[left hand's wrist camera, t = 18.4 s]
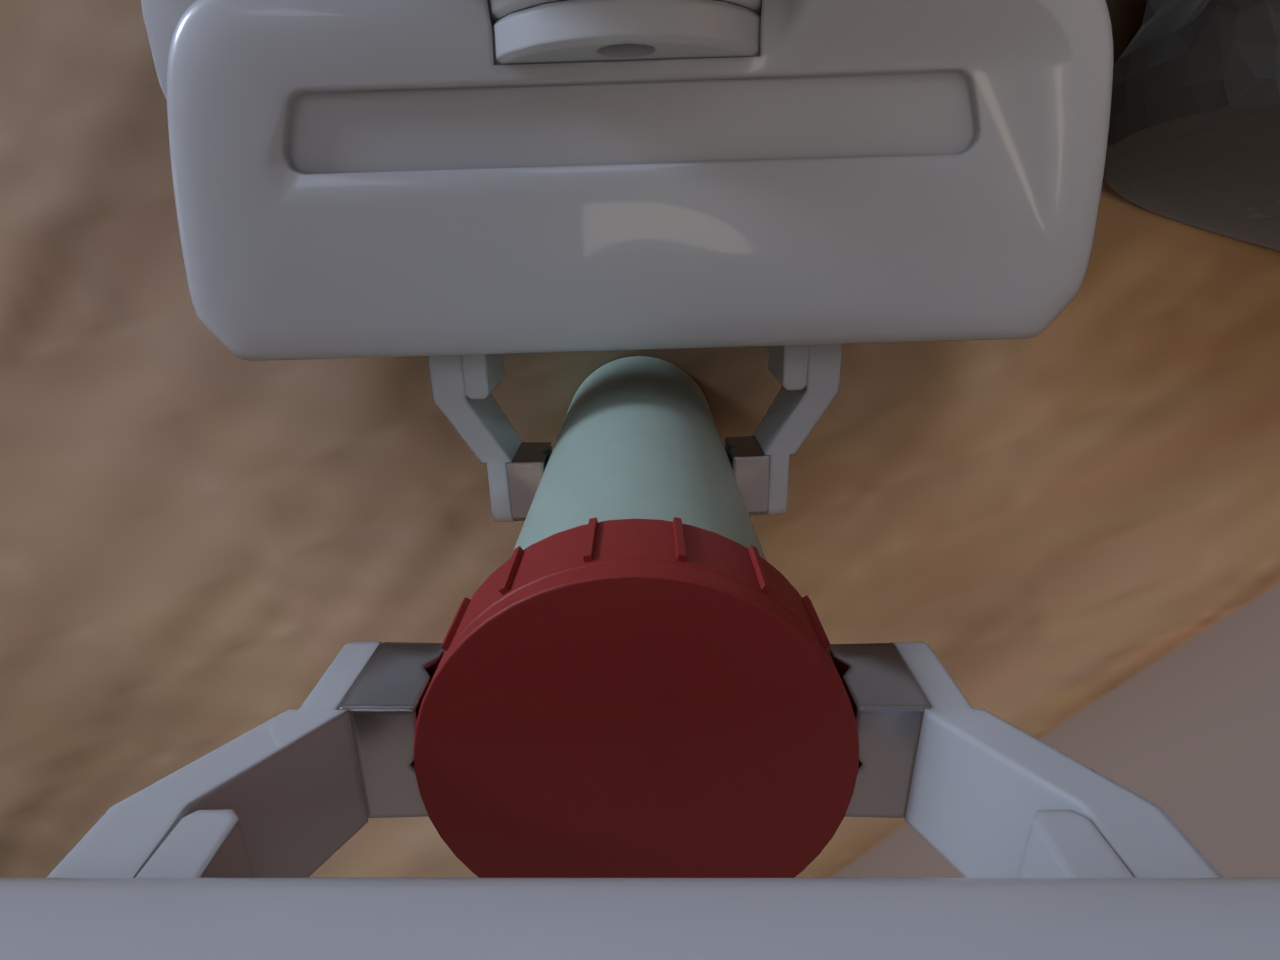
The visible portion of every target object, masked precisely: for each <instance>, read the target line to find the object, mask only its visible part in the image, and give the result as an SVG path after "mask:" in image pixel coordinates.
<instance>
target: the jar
mask: <svg viewBox="0 0 1280 960" xmlns="http://www.w3.org/2000/svg"><path fill="white" fill-rule="evenodd" d="M674 517H677V518H681V519H682V524H688V525H692V526H695V527H698V528H702V529H705V530H708V531H711V532H715V533H717V534H719V535H722V536H724V537H726V538H728V539H731V540H733V541H735V542H737V543H739V544H741V545H743V546H744V547H746V548H749V547H750V546H751V545H753V546H754V547H756V548H757V549H758V552H759V554H760V556H761V557H762V558H763V559H764V560H766V559H765V556H764V554H763V551H762V548H761V545H760V543H759V540H758V537H757V535H756V532H755V529H754V527H753V524H752V521H751V518H750V516H749V513H748V510H747V508H746V505H745V502H744V500H743V497H742V494H741V491H740V489H739V486H738V483H737V481H736V478H735V475H734V472H733V470H732V467H731V464H730V462H729V459H728V456H727V454H726V451H725V448H724V445H723V443H722V440H721V437H720V435H719V432H718V429H717V427H716V424H715V421H714V418H713V416H712V413H711V410H710V408H709V405H708V402H707V400H706V398H705V396H704V394H703V392H702V390H701V389H700V387H699V386H698V384H697V383H696V382H695V381H694V380H693V379H692V377H691V376H689V375H688V374H687V373H686V372H685V371H684V370H682V369H680V368H679V367H677V366H676V365H674V364H672V363H670V362H667V361H665V360H662V359H658V358H654V357H648V356H632V357H625V358H620V359H617V360H614V361H611V362H609V363H607V364H605V365H603V366H601V367H600V368H598V369H597V370H595V371H594V372H593V373H592V374H590V375H589V376H588V377H587V378H586V379H585V380H584V382H583V383H582V384H581V385H580V387H579V388H578V390H577V391H576V393H575V395H574V397H573V399H572V402H571V404H570V407H569V409H568V412H567V414H566V417H565V419H564V422H563V425H562V427H561V430H560V432H559V435H558V437H557V440H556V442H555V445H554V448H553V450H552V453H551V455H550V458H549V460H548V463H547V466H546V468H545V471H544V473H543V476H542V478H541V481H540V483H539V486H538V489H537V491H536V494H535V496H534V499H533V501H532V504H531V506H530V509H529V512H528V514H527V517H526V519H525V522H524V524H523V527H522V530H521V532H520V535H519V537H518V540H517V542H516V545H515V547H514V549H516V548H517V547H519V546H520V547H521V548H522V549H523V550H524V549H526V548H527V547H529V546H530V545H532V544H534V543H536V542H539V541H541V540H543V539H545V538H547V537H549V536H551V535H554V534H556V533H559V532H562V531H565V530H568V529H572V528H575V527H578V526H581V525H586V524H588V523H589V519H591V518H597V521H598V522H602V521H607V520H620V519H654V520H665V521H671V522H673V518H674ZM513 551H514V550H513ZM511 556H512V555H511Z"/></svg>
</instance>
